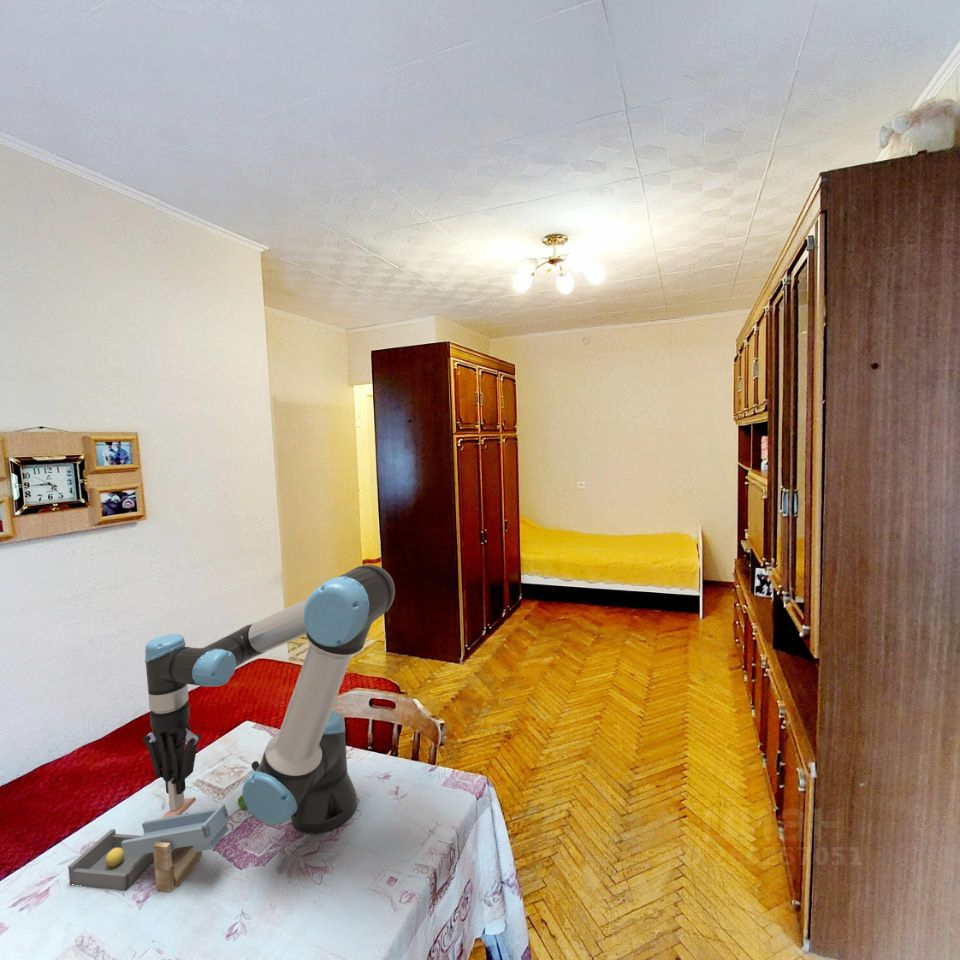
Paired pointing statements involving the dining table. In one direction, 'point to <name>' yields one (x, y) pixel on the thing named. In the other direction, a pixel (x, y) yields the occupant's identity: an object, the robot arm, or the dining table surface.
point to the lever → (181, 830)
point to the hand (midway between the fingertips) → (177, 805)
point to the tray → (100, 875)
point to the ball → (114, 857)
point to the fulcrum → (173, 865)
